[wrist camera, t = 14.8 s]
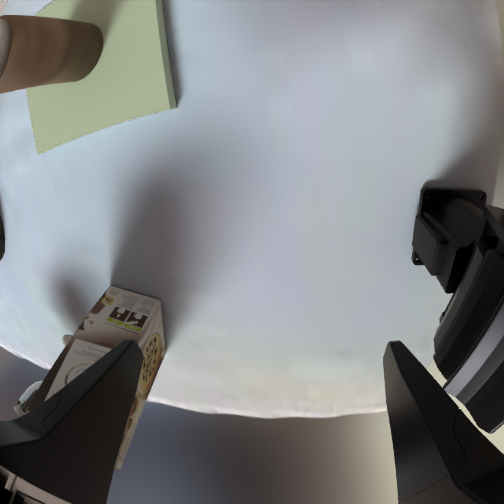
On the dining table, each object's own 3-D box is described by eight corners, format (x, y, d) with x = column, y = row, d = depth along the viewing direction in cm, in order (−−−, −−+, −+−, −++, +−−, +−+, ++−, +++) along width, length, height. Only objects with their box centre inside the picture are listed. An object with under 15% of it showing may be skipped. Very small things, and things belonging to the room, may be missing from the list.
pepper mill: (82, 13, 12) (-19, 4, 3) (114, 42, 14) (2, 36, 5) (49, 62, 14) (-50, 77, 6) (76, 93, 16) (-31, 119, 7)
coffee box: (107, 283, 27) (22, 407, 13) (163, 298, 26) (88, 447, 13) (120, 339, 31) (64, 446, 18) (167, 354, 31) (120, 474, 17)
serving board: (158, -47, 10) (151, -52, 9) (176, 107, 17) (170, 108, 16) (31, 25, 13) (23, 25, 12) (46, 151, 20) (38, 154, 19)
